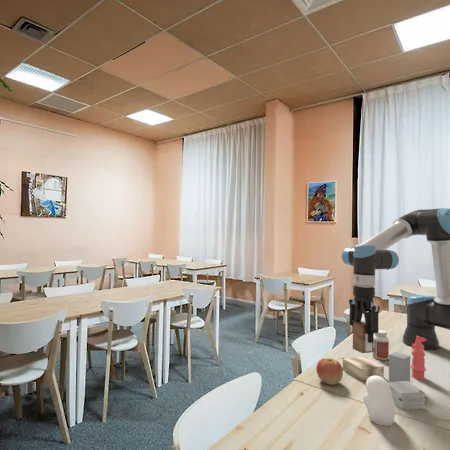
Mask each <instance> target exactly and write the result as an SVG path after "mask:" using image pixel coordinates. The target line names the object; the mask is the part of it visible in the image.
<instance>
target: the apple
mask: <svg viewBox="0 0 450 450" xmlns="http://www.w3.org/2000/svg"><path fill="white" fill-rule="evenodd" d="M316 375H317V376H318V379H320V381H322V382H323V383H325V384H327V385H329V386H334V385H337V384H339V383H340V381H342V378H343V375H344V370H343V365H342V364H341V362H340V361H338V360H337V359H334V358H321V359H320V360H318V362H317V363H316Z"/></svg>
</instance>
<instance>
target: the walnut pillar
mask: <svg viewBox="0 0 450 450" xmlns="http://www.w3.org/2000/svg"><path fill="white" fill-rule="evenodd" d="M352 322H353V321H352ZM370 330H371V329H370ZM365 332H367V330H366V323H365V320H364V321H362V320H361V322H353V326H352V349H353V350H355V351H357V352H358V353H361V354H367V353H368V354H369V353H373V343H372V351H368V352H366V351H365Z"/></svg>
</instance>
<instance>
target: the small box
mask: <svg viewBox="0 0 450 450" xmlns="http://www.w3.org/2000/svg"><path fill="white" fill-rule="evenodd" d="M387 383H388V384H389V387H390V389H391V392H392V396H393V400H394V404H395V406H396V405H397V407H398V409H400V410H401V409H406V410H419V409H420V408H424V409H425V398H426V397H425V395H426V394H425V391H423V390H421V389H420V388H419V387H418V386H416V385H415V384H413V383H411V381H410V382H408V381H397V382H389V381H387Z"/></svg>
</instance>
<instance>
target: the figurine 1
mask: <svg viewBox="0 0 450 450" xmlns="http://www.w3.org/2000/svg"><path fill="white" fill-rule="evenodd" d="M384 378H385V377H380V376H371V377H369V378H368V379H367V380H365V381H366V382H365V389H366V393H365V394H364V395H363V397H362V400H363V403H364V405H365V407H366V411H367V413H368V418H370V421H372V422H373V423H375V424H377V425H379V426H385V427H389V425H390V426H392V425H393V424H394V422H395V415H396V405H395V404H394V400H393V396H392V392H391V389H390V387H389V384H388V383H387V382H388V381H387V380H386V379H384Z"/></svg>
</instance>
